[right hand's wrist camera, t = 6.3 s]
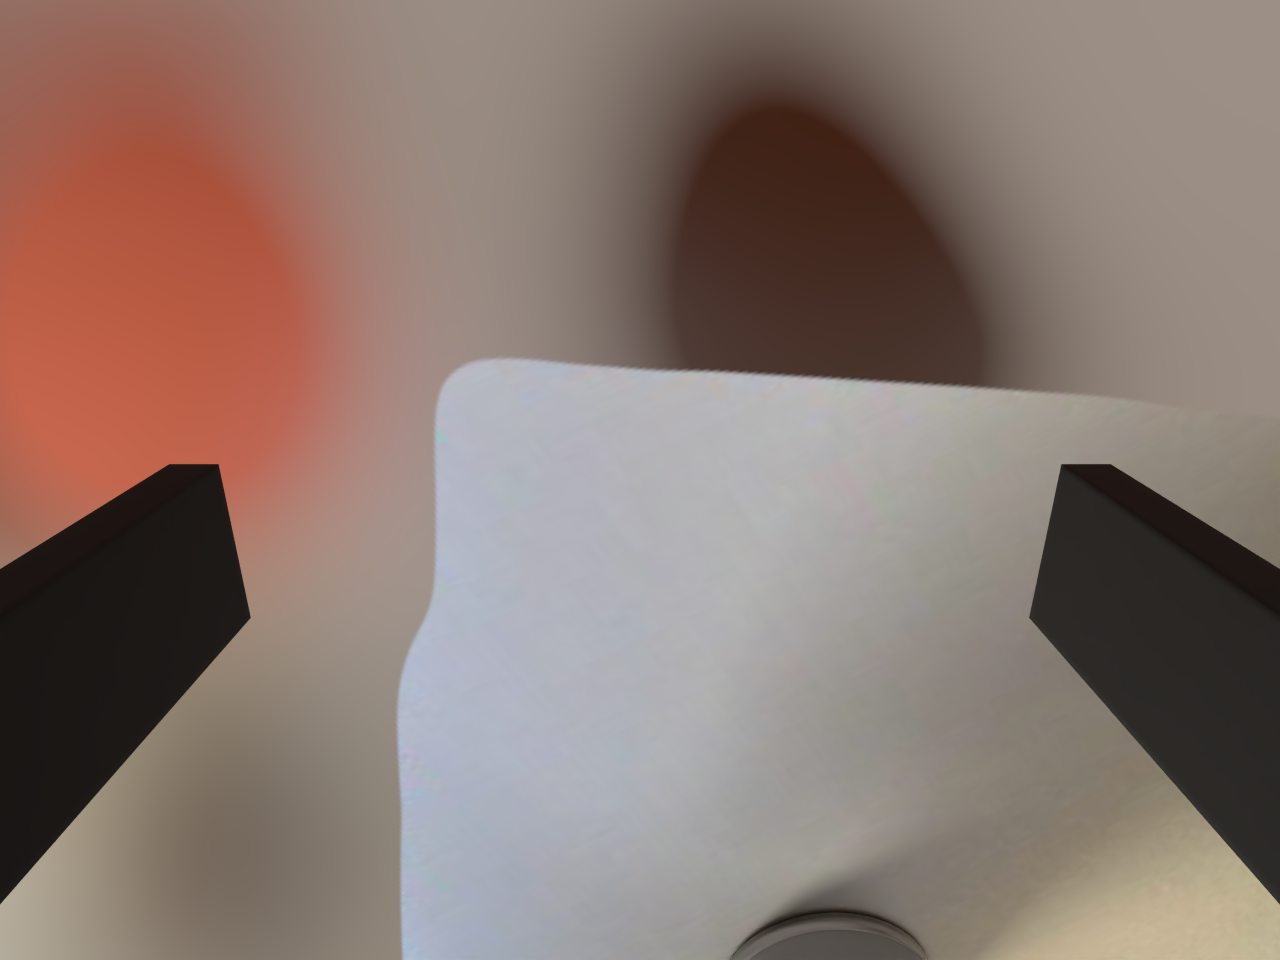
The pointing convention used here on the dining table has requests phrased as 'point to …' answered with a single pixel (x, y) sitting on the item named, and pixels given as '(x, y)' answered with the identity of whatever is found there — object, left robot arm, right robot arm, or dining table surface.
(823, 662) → the dining table surface
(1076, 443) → the dining table surface
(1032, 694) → the dining table surface
